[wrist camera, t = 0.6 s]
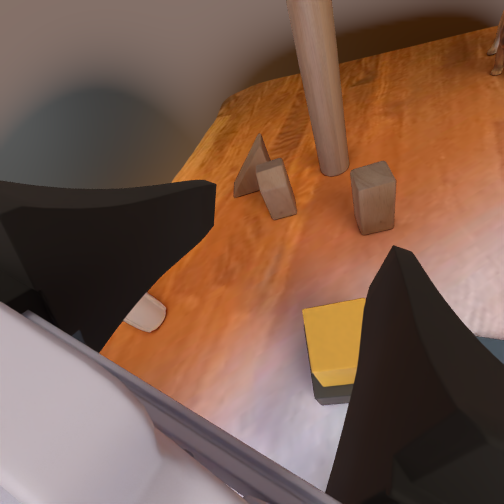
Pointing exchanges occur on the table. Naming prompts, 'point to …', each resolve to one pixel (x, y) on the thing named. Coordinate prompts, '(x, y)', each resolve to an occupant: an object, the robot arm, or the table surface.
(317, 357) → the top block
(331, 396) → the base block
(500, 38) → the lion figurine
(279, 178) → the wooden blocks
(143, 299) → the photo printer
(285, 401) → the table surface
